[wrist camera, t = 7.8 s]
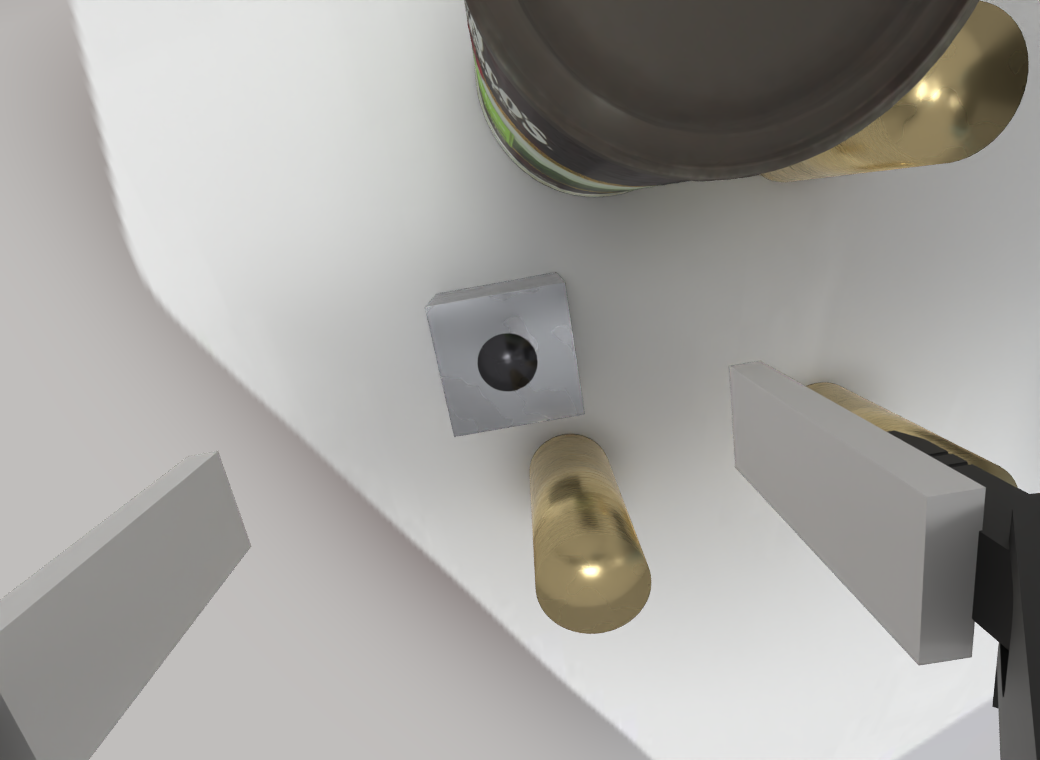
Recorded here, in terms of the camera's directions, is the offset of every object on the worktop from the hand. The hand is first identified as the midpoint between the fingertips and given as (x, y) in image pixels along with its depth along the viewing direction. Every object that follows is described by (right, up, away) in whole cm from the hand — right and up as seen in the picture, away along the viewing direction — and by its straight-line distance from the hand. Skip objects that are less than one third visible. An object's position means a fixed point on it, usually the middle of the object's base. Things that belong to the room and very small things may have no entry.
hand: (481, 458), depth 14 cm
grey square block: (0, +4, +12) cm, 13 cm away
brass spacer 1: (+3, -3, +14) cm, 15 cm away
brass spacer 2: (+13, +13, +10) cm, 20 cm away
